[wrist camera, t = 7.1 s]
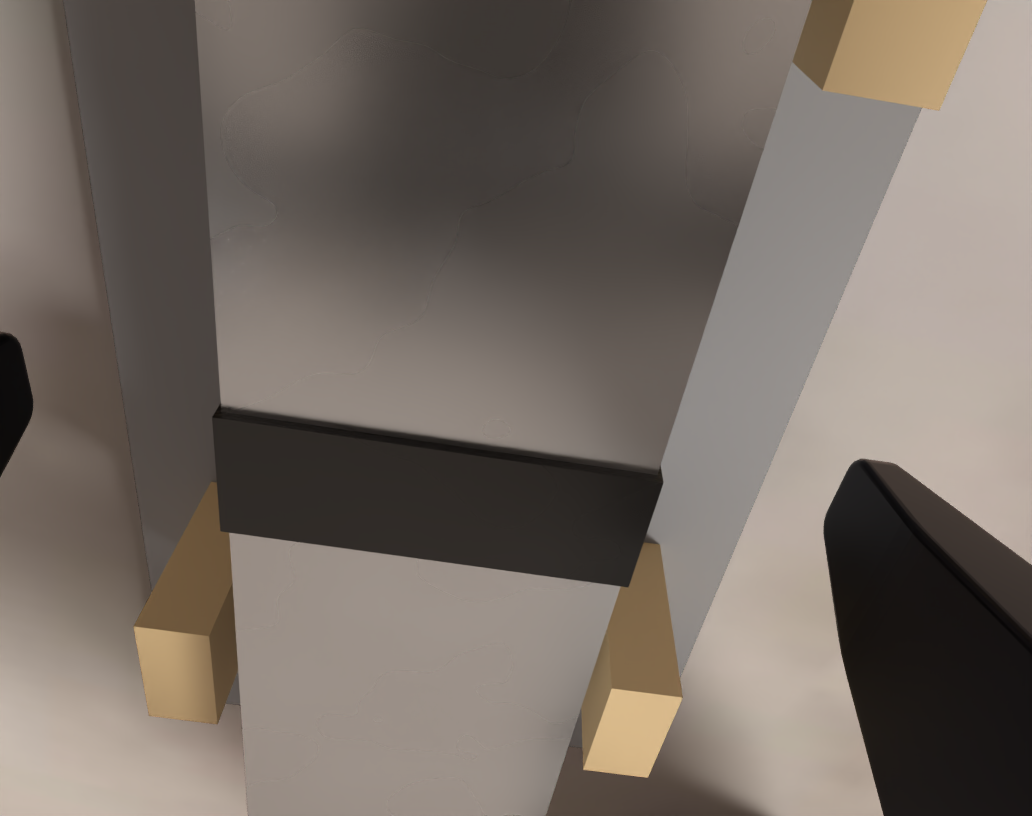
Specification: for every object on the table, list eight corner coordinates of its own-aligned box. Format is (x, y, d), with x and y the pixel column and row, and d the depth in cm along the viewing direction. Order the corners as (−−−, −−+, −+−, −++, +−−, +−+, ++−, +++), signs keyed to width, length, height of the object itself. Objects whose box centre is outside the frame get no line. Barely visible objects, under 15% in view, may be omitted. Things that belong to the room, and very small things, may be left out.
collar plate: (642, 714, 18) (662, 908, 15) (185, 655, 18) (100, 843, 14) (1223, -739, 7) (1855, -1283, 3) (-24, -1031, 6) (-673, -2009, 3)
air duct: (534, 654, 15) (528, 885, 12) (313, 625, 15) (243, 851, 12) (792, -351, 7) (998, -515, 4) (331, -445, 7) (131, -700, 4)
